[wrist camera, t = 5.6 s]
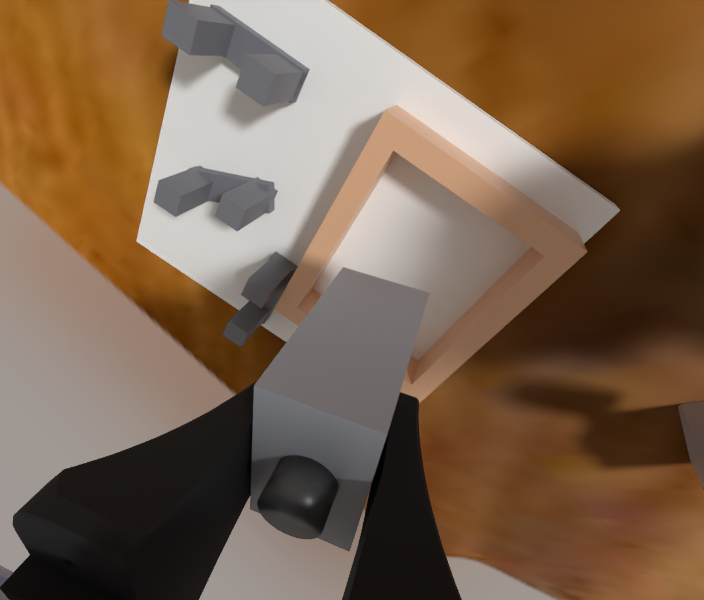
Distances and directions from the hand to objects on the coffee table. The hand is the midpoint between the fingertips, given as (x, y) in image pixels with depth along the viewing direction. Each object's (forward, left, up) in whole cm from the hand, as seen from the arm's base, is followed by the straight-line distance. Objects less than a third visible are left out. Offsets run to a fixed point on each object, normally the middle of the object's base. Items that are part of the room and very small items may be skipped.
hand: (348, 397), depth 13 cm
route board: (+4, 0, -9) cm, 10 cm away
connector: (0, -1, -2) cm, 2 cm away
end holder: (0, -1, -8) cm, 8 cm away
